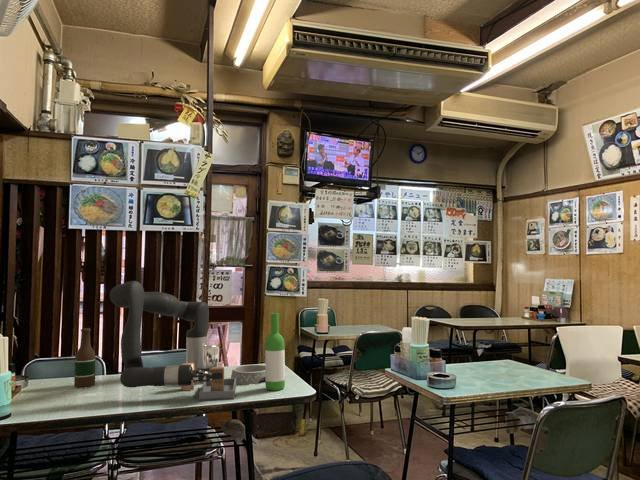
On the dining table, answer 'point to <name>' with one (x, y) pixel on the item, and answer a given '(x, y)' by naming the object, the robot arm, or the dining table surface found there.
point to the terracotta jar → (191, 387)
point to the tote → (228, 391)
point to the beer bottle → (85, 362)
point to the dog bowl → (248, 374)
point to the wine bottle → (274, 357)
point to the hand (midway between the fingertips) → (223, 373)
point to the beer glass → (210, 356)
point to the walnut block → (217, 383)
